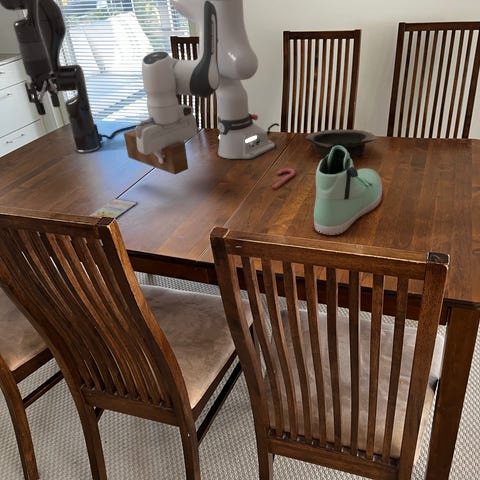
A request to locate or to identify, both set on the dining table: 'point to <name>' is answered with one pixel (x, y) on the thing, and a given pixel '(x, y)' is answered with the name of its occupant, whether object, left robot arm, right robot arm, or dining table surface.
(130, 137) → the bar
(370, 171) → the sneaker
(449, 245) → the dining table surface
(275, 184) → the candy cane
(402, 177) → the dining table surface
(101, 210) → the baking ingredient package
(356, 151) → the stone bowl
